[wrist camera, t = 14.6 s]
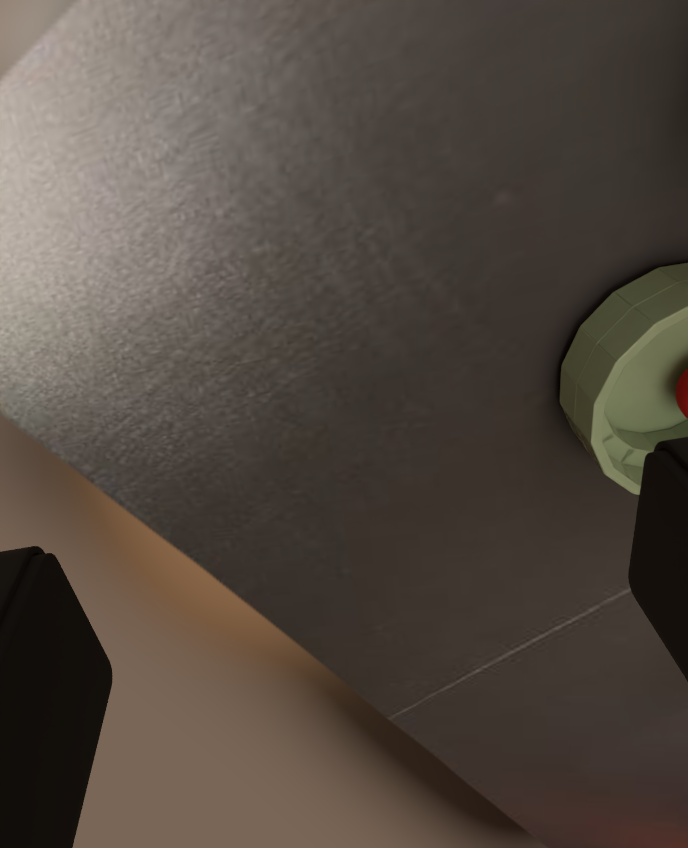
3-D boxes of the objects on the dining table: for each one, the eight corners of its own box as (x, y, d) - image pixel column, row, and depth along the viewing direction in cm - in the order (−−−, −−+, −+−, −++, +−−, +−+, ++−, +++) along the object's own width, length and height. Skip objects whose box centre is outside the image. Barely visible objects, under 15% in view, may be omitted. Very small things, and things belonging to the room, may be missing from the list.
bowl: (560, 278, 34) (601, 314, 30) (786, 241, 34) (858, 272, 30) (552, 463, 41) (584, 514, 36) (741, 431, 41) (796, 479, 37)
